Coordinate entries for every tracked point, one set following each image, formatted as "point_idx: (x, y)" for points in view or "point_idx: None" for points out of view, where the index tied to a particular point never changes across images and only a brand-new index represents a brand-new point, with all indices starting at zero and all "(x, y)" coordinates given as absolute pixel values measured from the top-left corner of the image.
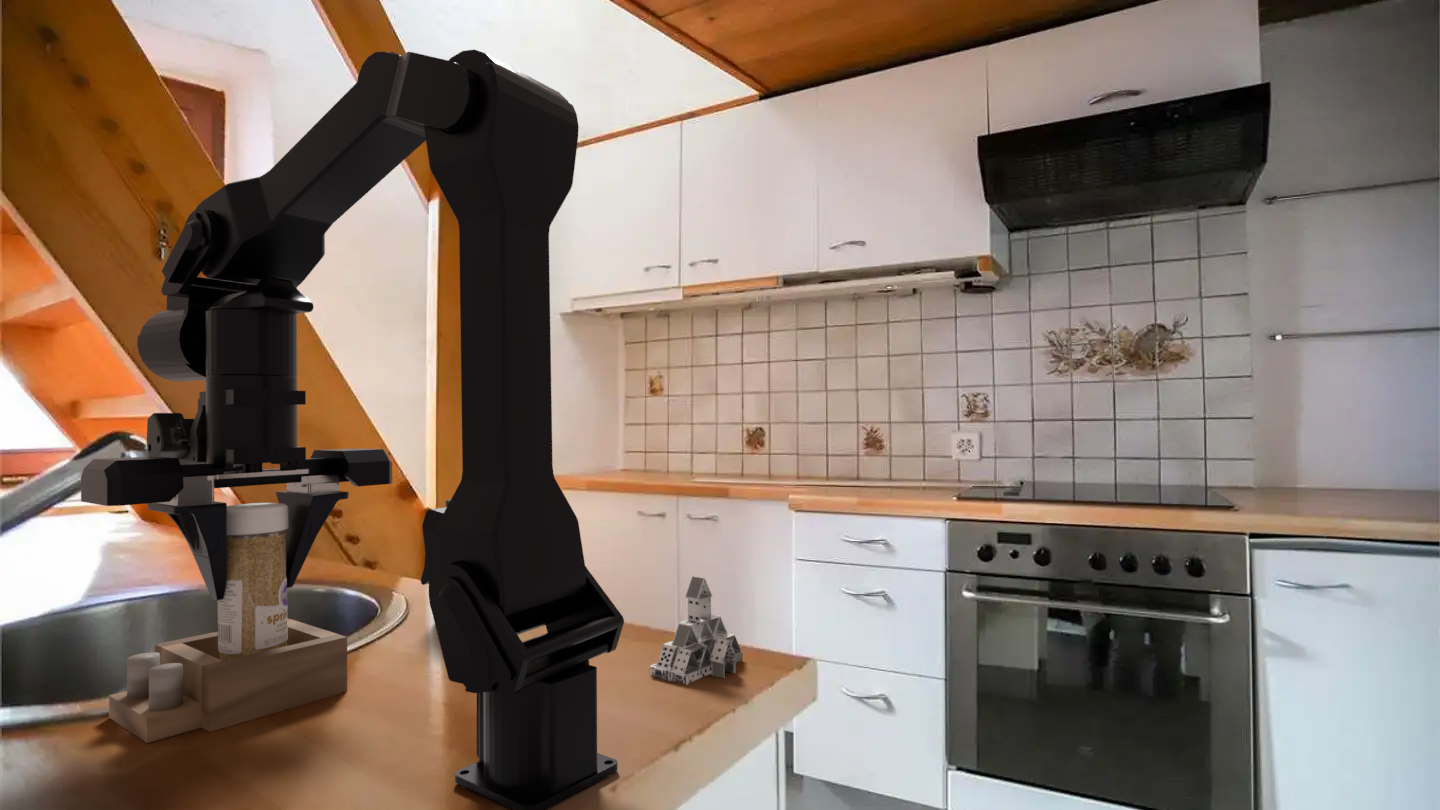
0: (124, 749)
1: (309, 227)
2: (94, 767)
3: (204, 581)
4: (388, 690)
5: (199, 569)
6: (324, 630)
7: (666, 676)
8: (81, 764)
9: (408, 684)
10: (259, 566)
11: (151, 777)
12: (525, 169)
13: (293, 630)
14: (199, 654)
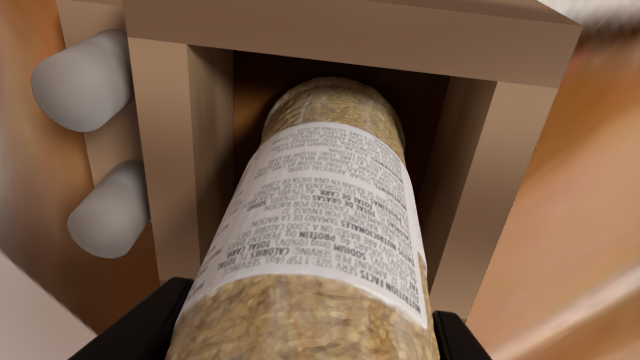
0: (90, 184)
1: None
2: (49, 211)
3: (122, 317)
4: (474, 302)
5: (73, 357)
6: (481, 272)
7: None
8: (34, 187)
9: (513, 308)
10: None
11: (104, 293)
12: None
13: (463, 185)
14: (182, 204)
